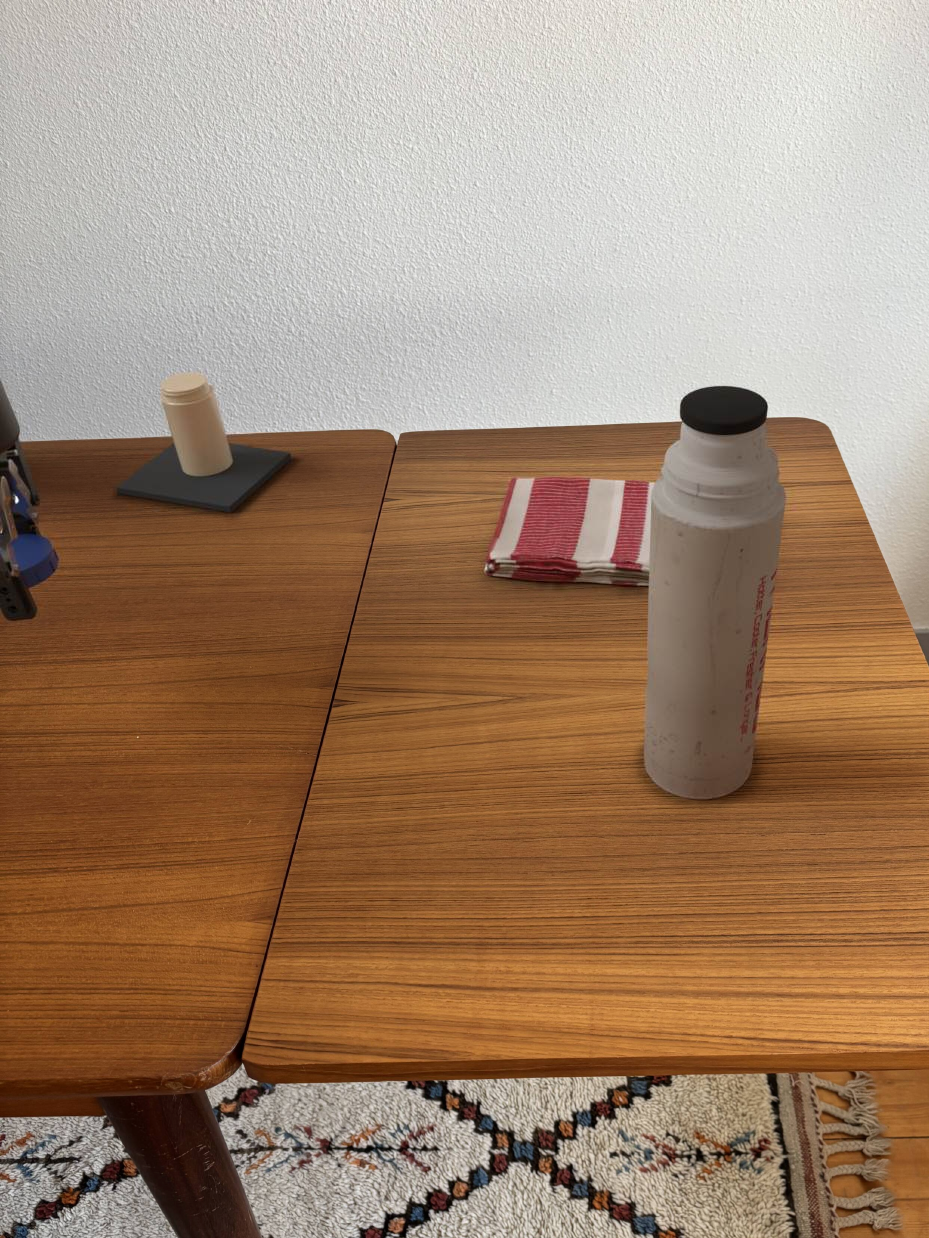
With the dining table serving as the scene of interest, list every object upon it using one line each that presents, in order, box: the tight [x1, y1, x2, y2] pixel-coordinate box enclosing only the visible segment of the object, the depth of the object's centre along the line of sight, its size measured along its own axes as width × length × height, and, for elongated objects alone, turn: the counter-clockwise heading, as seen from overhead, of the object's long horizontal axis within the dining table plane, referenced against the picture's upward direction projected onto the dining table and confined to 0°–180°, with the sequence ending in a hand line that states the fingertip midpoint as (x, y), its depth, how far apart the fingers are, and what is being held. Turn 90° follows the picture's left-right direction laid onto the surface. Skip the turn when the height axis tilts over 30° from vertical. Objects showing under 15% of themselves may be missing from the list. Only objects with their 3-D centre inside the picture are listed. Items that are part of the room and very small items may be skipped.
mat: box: [115, 442, 292, 514], centre depth 112 cm, size 14×12×1 cm
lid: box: [0, 534, 60, 589], centre depth 78 cm, size 6×6×2 cm
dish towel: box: [483, 476, 656, 587], centre depth 100 cm, size 17×23×3 cm
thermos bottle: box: [643, 385, 787, 800], centre depth 68 cm, size 8×8×28 cm
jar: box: [159, 371, 233, 476], centre depth 110 cm, size 5×5×9 cm
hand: (31, 592), depth 80 cm, fingers closed on lid, 5 cm apart
